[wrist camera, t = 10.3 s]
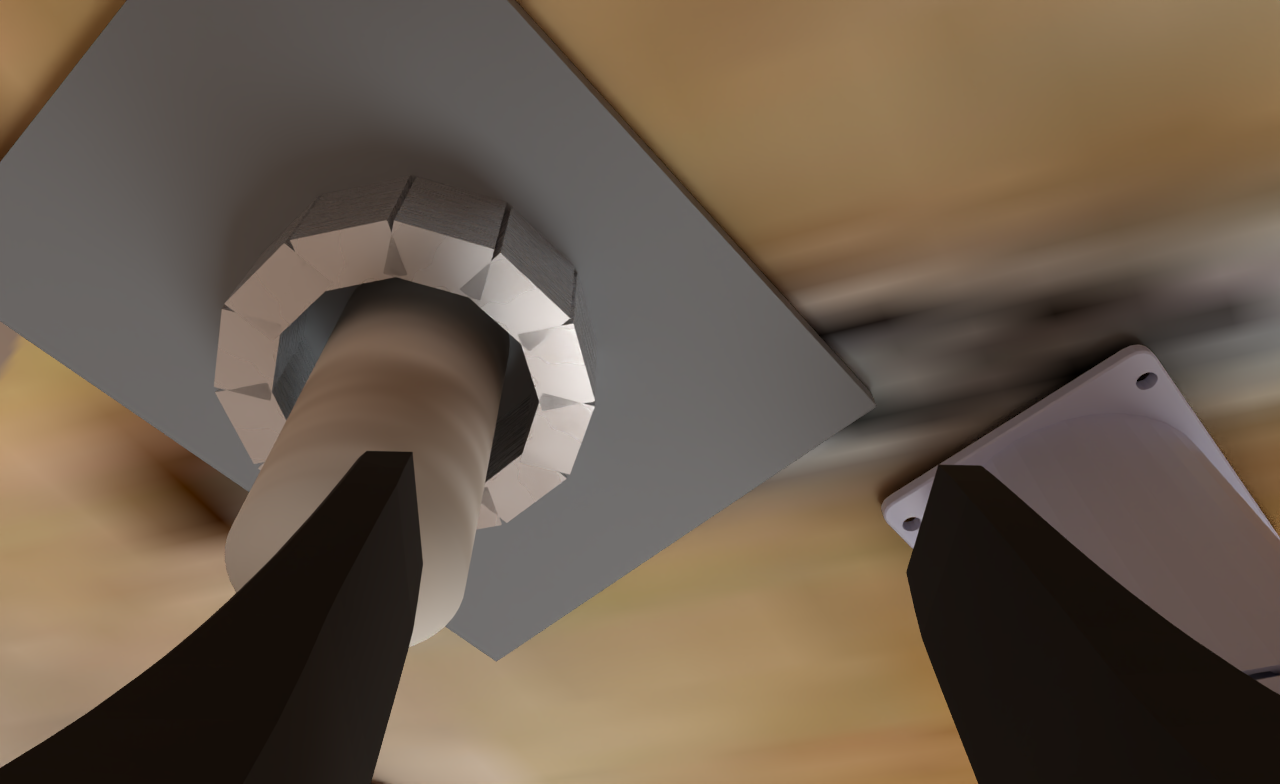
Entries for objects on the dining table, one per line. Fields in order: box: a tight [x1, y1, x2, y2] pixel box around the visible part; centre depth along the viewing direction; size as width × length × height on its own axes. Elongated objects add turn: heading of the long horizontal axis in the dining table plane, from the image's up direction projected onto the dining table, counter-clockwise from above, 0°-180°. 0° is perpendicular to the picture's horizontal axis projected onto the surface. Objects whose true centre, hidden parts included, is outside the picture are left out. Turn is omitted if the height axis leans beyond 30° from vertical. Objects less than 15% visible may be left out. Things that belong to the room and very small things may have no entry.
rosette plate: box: [0, 0, 877, 661], centre depth 23 cm, size 18×14×1 cm
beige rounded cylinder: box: [225, 277, 510, 647], centre depth 19 cm, size 4×4×8 cm
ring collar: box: [214, 175, 597, 529], centre depth 22 cm, size 8×8×2 cm
